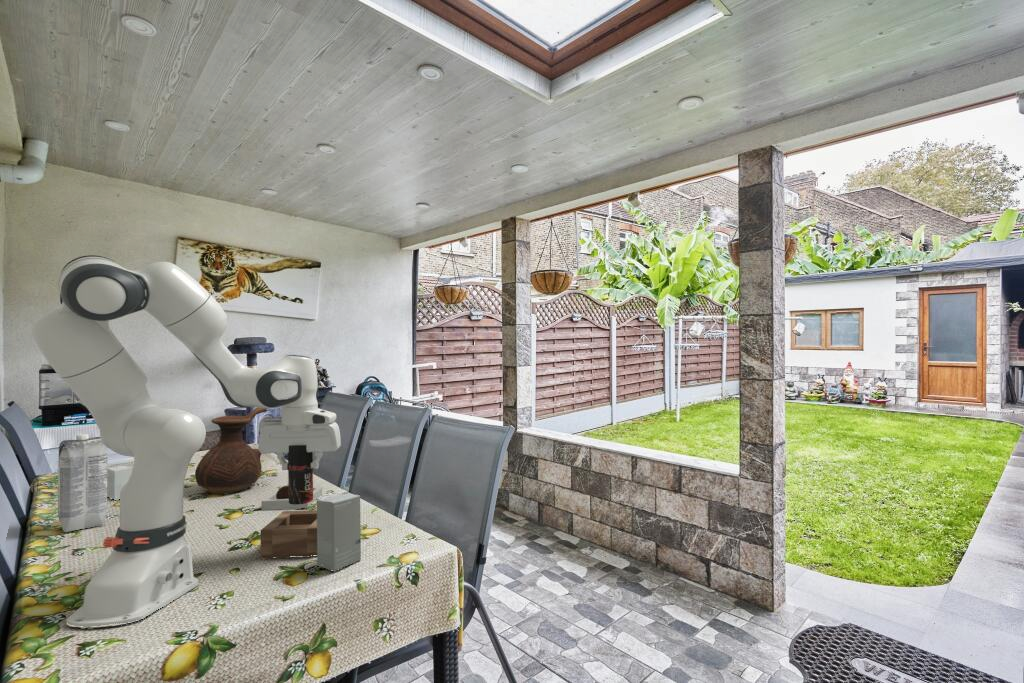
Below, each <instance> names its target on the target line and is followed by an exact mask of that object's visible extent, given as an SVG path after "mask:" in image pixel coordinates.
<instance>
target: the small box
mask: <svg viewBox="0 0 1024 683" xmlns="http://www.w3.org/2000/svg"><path fill="white" fill-rule="evenodd" d="M132 470H133V466H128V465H124V464H123V465H118V466H112V467H107V497H109V498H112V499H114V500H116V499H120V492H121V489H122V488H123V486H124V485H125V484H127V482H128V481H129V478H130V476H131V473H132ZM109 498H108V499H109ZM114 500H113V501H114ZM116 501H117V500H116Z"/></svg>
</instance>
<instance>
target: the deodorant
mask: <svg viewBox="0 0 1024 683" xmlns="http://www.w3.org/2000/svg"><path fill="white" fill-rule="evenodd" d="M306 447H307V445H291V446H289V453H287V462H288V470H287V471H288V472H287V475H288V477H287V478H288V480H287V481H288V482H287V483H288V484H287V485H288V488H289V504H294V505H297V504H305V503H308V502H311V501H312V500H313V487H314V469H311V462H313V461H314V460H313V459H314V458H313V453H314V452H307V450H306Z"/></svg>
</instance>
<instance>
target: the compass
mask: <svg viewBox="0 0 1024 683" xmlns="http://www.w3.org/2000/svg"><path fill="white" fill-rule="evenodd" d="M278 489H279V490H278ZM278 489H277V490H278V492H277V494H276V498H277V499H289V488H288V484H287V485H284V486H281V487H280V488H278Z"/></svg>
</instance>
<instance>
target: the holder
mask: <svg viewBox="0 0 1024 683" xmlns="http://www.w3.org/2000/svg"><path fill="white" fill-rule="evenodd" d="M311 555H312V556H313V555H317V509H316V510H315V509H314V510H313V509H312V510H309V509H306V510H285V511H284V510H283V511H282V512H281V513H279V514H278V515H277V516H276V517H275V518H273V520H271V521H270V522H268V523H267V524H266V525H265V526H263V528H262V529H260V559H261V558H269V559H274V558H273V557H290V556H311Z"/></svg>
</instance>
